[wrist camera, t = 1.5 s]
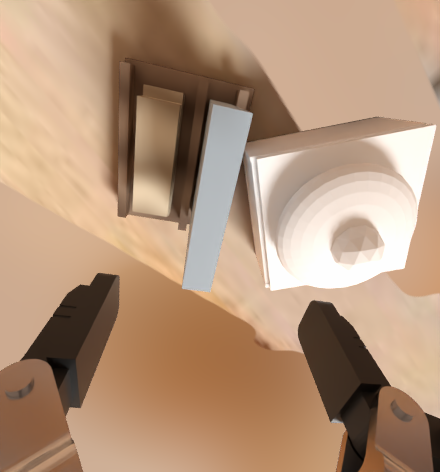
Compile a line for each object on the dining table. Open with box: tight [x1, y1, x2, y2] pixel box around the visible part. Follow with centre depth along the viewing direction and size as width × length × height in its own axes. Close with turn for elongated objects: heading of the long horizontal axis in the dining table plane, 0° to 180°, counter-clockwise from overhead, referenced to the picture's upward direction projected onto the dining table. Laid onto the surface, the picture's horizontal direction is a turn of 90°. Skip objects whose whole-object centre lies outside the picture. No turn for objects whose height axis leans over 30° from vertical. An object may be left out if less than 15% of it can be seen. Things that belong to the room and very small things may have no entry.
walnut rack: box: [118, 58, 254, 231], centre depth 31 cm, size 18×14×4 cm
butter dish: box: [243, 117, 436, 291], centre depth 30 cm, size 18×18×16 cm
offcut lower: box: [143, 84, 185, 216], centre depth 30 cm, size 14×4×2 cm, turn 168°
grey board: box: [182, 99, 253, 292], centre depth 25 cm, size 14×2×16 cm, turn 168°
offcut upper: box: [132, 95, 182, 217], centre depth 28 cm, size 12×4×2 cm, turn 168°
